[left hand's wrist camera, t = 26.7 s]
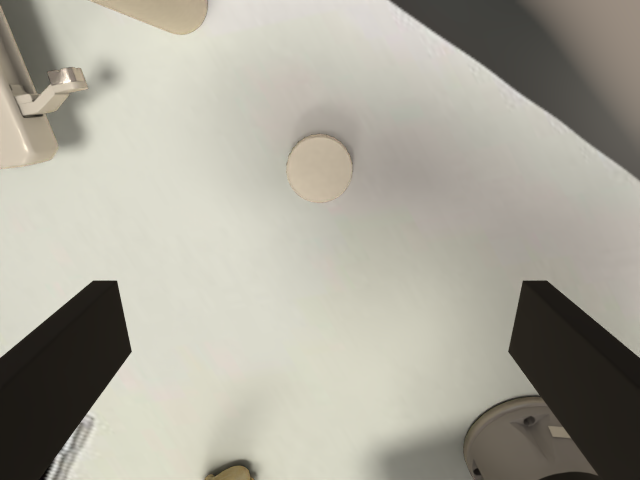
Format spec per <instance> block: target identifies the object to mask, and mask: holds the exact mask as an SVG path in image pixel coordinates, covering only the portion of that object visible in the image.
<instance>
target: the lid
mask: <svg viewBox="0 0 640 480" xmlns="http://www.w3.org/2000/svg"><path fill="white" fill-rule="evenodd" d="M288 157H289V159H288V162H287V164H286V165H287V171H286V173H287V178H288V181H289V183H290V185H291V187H292V189H293V190H294V191H295V192H296V193H297V194H298V195H299V196H300V197H302V198H303V199H305V200H308V201H311V202H316V203H323V202H328V201H331V200H334V199H335V198H337V197H339V196H340V195H341V194H342V193H343V192H344V191H345V190H346V189H347V187H348V185H349V183H350V181H351V177H352V172H353V170H352V161H351V159H350V154H349V153H348V152H347V149H346V147H344V146H343V145H342V144H341V142H340V141H338V140H336V139H335V138H334V137H331V136H327V134H326V135H322V134H317V135H311V136H308V137H306V138H305V137H304V139H303V140H301V141H300V142H299V141H298V143H297V145H296V146H295V147H293V149H292V152H291V154H289V156H288Z"/></svg>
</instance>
